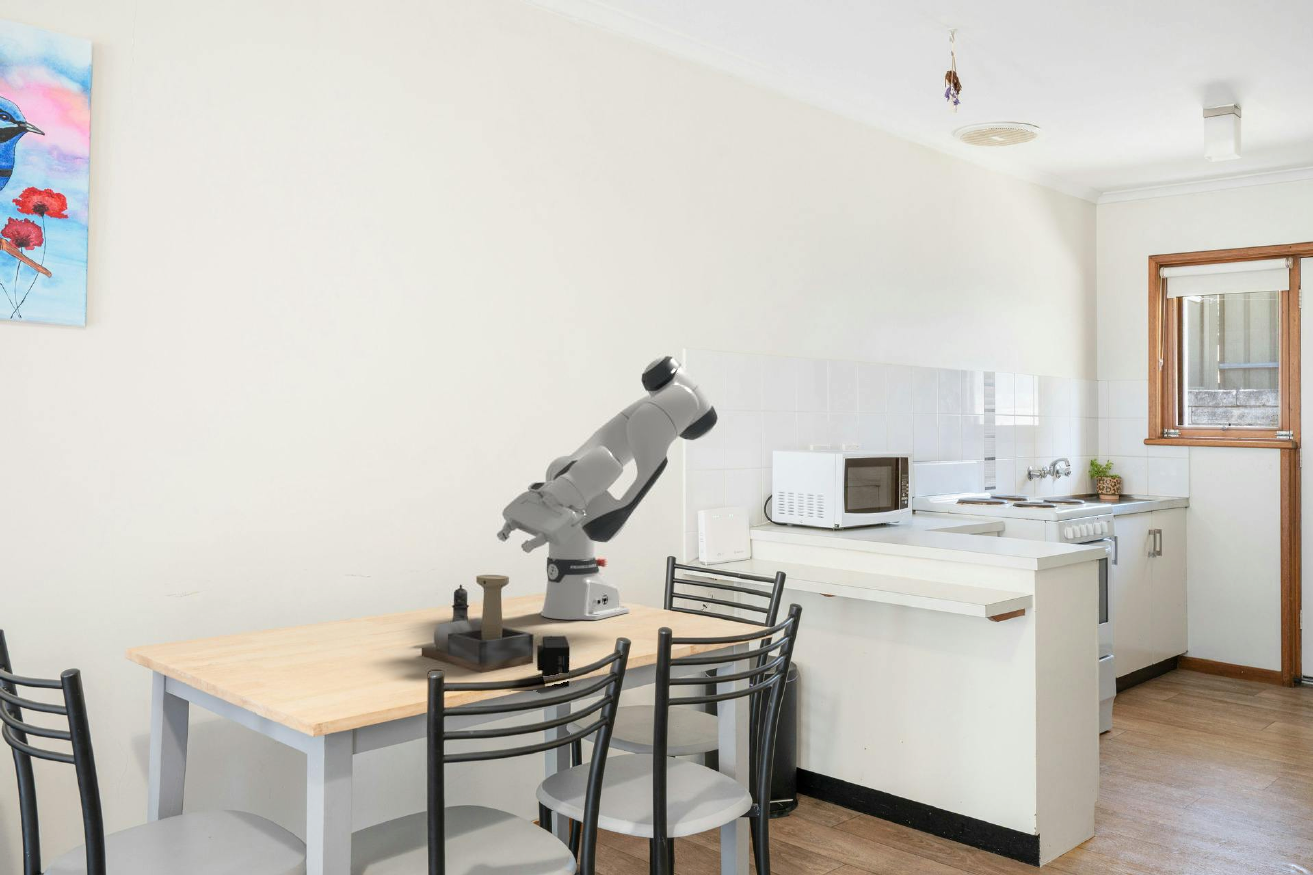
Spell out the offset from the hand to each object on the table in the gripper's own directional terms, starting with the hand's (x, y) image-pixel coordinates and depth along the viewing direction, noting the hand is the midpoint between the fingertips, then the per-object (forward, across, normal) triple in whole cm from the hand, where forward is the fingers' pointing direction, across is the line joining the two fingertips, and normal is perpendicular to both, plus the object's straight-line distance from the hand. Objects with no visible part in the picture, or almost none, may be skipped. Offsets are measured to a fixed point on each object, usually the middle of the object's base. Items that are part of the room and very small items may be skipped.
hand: (511, 543), depth 207 cm
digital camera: (+16, -28, -10) cm, 34 cm away
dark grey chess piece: (+17, +12, -17) cm, 27 cm away
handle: (+18, -10, -10) cm, 23 cm away
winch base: (+20, -6, -11) cm, 24 cm away
